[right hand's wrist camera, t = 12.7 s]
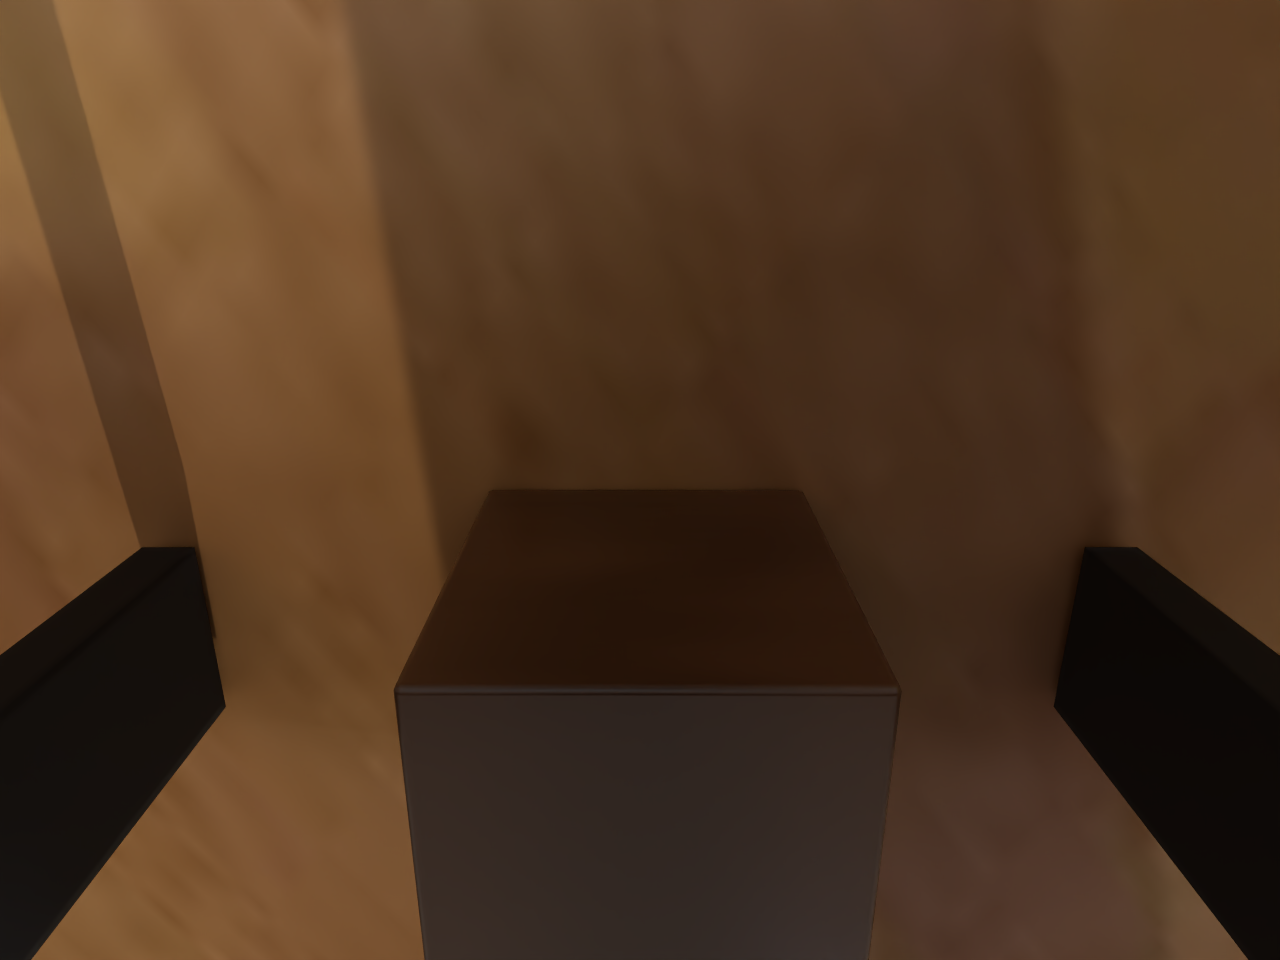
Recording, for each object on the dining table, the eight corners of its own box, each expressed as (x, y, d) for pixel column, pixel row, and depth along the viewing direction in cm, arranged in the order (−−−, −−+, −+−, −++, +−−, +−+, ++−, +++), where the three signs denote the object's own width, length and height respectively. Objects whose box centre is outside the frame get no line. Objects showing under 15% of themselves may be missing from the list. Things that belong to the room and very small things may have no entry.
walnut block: (803, 488, 12) (904, 687, 7) (785, 751, 14) (859, 1054, 9) (488, 488, 12) (390, 686, 7) (505, 750, 14) (433, 1053, 9)
